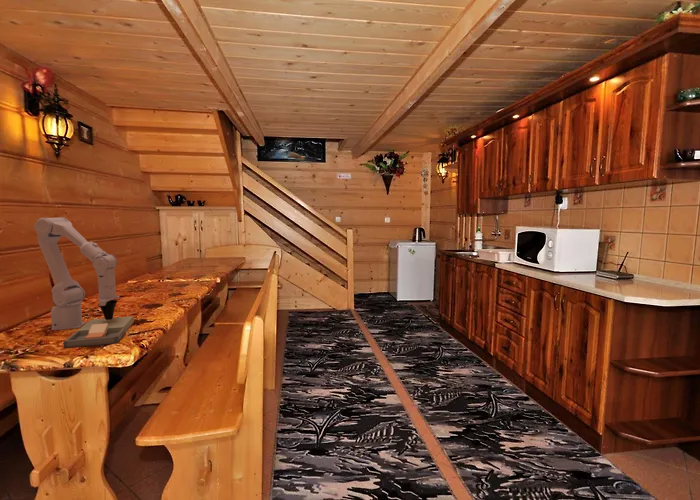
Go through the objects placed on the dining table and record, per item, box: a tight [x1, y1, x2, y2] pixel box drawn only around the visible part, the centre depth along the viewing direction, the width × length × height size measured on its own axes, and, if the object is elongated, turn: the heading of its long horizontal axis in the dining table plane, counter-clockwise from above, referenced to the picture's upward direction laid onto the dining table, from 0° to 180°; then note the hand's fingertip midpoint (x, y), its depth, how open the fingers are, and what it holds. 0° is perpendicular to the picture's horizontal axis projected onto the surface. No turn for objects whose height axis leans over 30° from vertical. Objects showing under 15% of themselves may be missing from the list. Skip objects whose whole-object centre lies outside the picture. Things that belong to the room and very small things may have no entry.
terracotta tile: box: [85, 332, 106, 339], centre depth 133 cm, size 5×5×2 cm
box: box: [63, 328, 127, 349], centre depth 135 cm, size 16×11×2 cm
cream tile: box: [88, 323, 109, 334], centre depth 137 cm, size 5×5×2 cm
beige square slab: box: [76, 315, 135, 336], centre depth 147 cm, size 15×15×2 cm
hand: (109, 319), depth 149 cm, fingers closed
